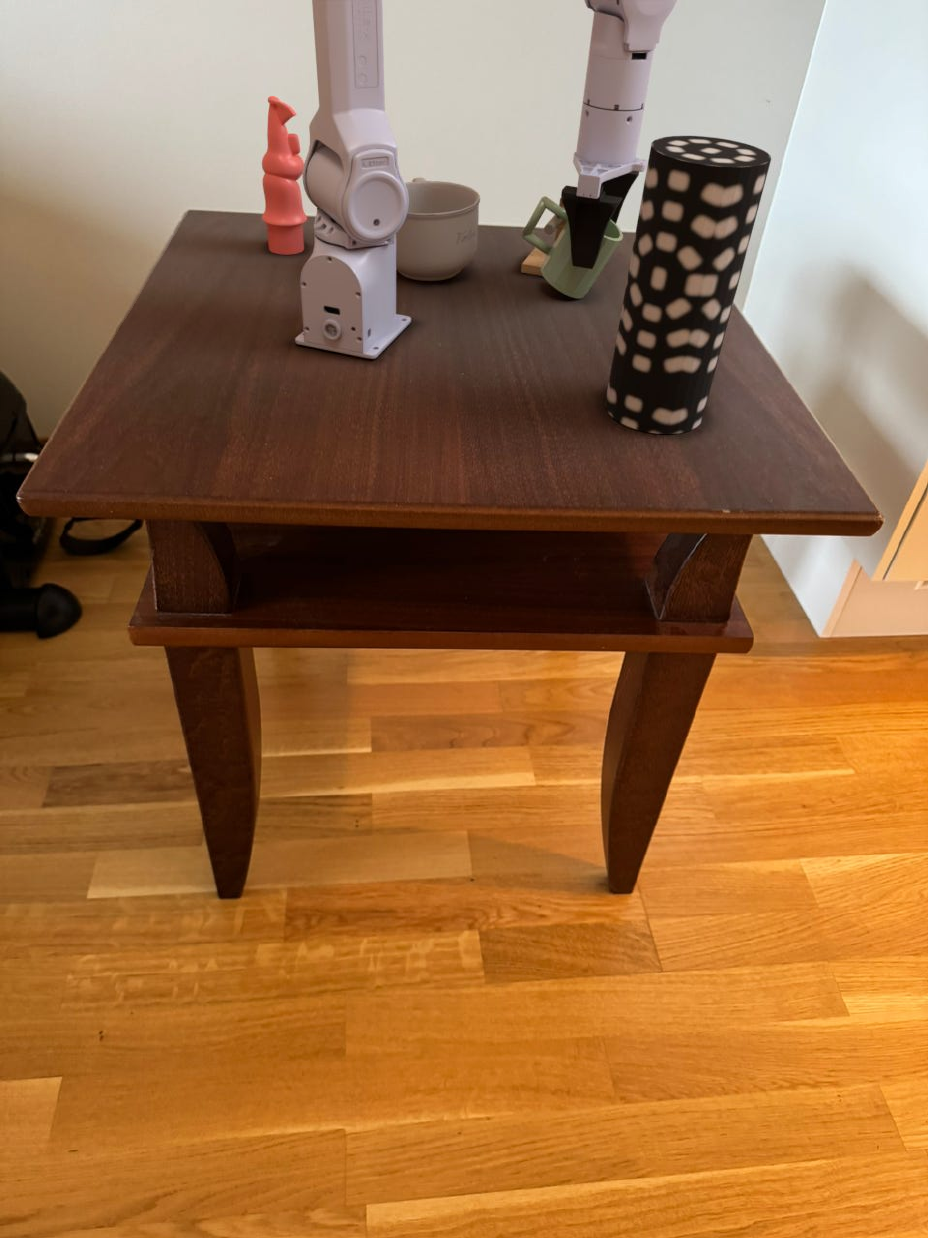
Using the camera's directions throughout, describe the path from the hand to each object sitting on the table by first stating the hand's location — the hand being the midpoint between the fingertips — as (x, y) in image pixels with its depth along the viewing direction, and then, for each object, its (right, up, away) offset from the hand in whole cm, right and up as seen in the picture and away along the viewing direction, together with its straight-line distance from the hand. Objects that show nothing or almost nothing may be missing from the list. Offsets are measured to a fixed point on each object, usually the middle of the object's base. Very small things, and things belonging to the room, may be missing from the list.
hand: (591, 254), depth 90 cm
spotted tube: (+3, -20, -15) cm, 25 cm away
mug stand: (-4, 0, +6) cm, 7 cm away
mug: (-4, -1, +2) cm, 5 cm away
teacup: (-17, +1, +7) cm, 19 cm away
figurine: (-33, +4, +9) cm, 34 cm away
